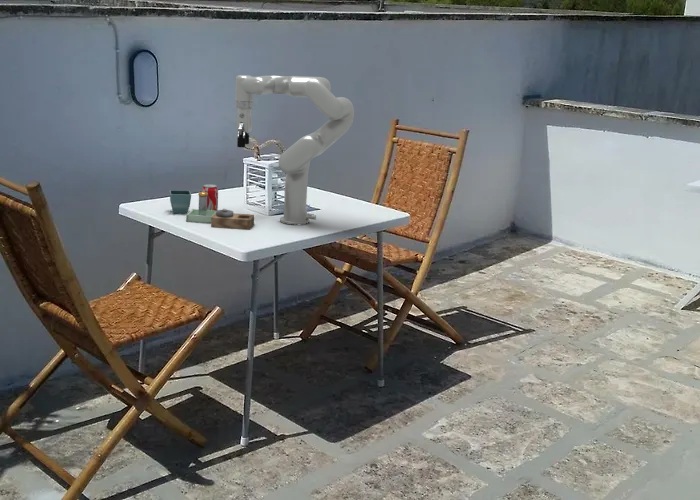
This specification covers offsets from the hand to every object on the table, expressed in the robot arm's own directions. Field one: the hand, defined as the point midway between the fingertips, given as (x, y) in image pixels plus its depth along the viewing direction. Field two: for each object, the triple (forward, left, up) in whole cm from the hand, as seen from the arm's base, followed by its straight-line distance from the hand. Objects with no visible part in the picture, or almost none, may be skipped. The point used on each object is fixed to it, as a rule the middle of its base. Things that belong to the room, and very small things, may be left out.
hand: (243, 145), depth 342 cm
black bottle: (+14, +14, -30) cm, 36 cm away
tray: (+14, +14, -30) cm, 36 cm away
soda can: (+14, 0, -31) cm, 34 cm away
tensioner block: (0, +20, -30) cm, 36 cm away
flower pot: (+26, +4, -31) cm, 40 cm away
